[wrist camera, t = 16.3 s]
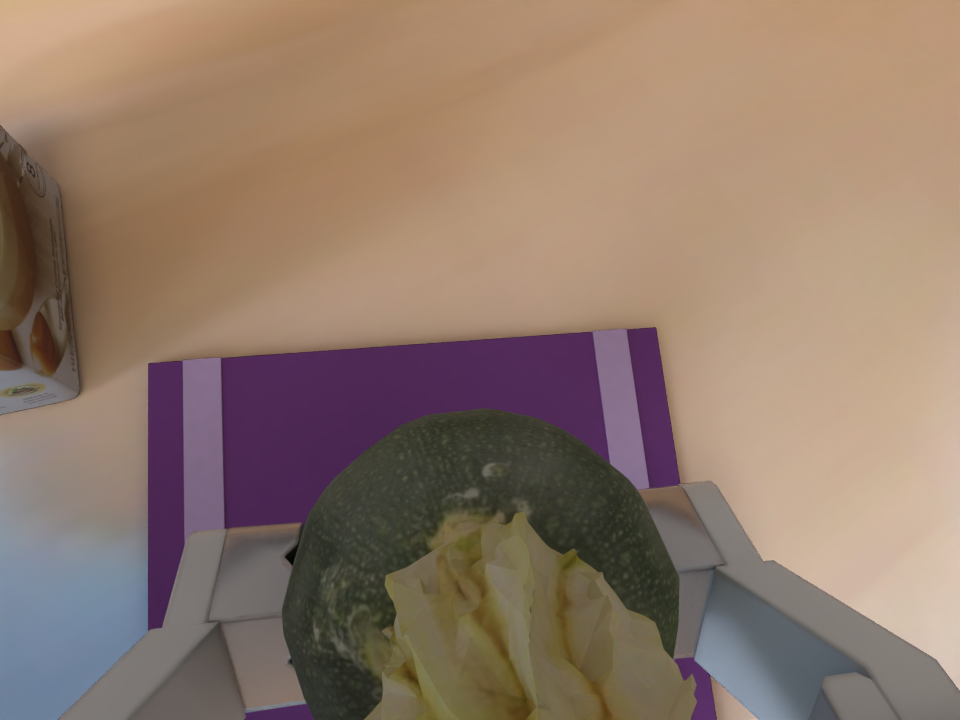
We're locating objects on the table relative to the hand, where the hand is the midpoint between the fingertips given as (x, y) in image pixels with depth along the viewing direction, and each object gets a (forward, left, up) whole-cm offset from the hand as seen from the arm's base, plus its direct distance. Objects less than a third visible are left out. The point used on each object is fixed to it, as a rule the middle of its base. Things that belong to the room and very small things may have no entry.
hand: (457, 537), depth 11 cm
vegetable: (0, -1, -12) cm, 12 cm away
